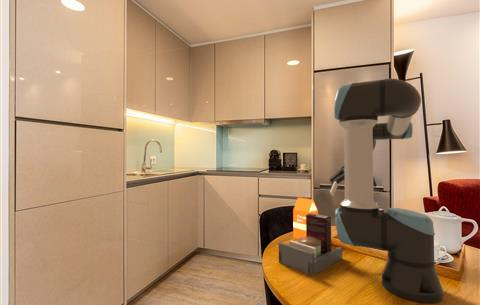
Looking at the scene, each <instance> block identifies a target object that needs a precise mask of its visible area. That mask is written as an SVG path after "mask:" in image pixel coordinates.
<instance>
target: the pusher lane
mask: <svg viewBox="0 0 480 305" xmlns="http://www.w3.org/2000/svg"><path fill="white" fill-rule="evenodd" d="M342 259H343V247H341V246H338V247H336V248H334V249H331V251H329V252H327V253H325V254H323V255H321V256H319V257H317V258H315V259H314V253H312V252H309V251H306V250H303V249H300V248H297V247H294V246H291V245H290V244H287V243H284V242H278V263H279V264H281V265H283V266H284V265H285V266H287V267H289V268H291V269H294V270H296V271H299V272H301V273H303V274H306V275H308V276H311V277H313V276H315V275H316V274H318V273H320V272H322V271H323V270H326V269H327V268H329V267H330V266H332V265H333V264H335V263H337V262H339V261H340V260H342Z"/></svg>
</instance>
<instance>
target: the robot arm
mask: <svg viewBox="0 0 480 305" xmlns="http://www.w3.org/2000/svg"><path fill="white" fill-rule="evenodd" d="M421 103H422V98H421V94H420V93H419V91H418V89H417V88H416V87H415V86H413V85H412V84H411V83H409V82H407V81H405V80H403V79H398V78H385V79H377V80H367V81H363V82H362V81H361V82H352V83H349V84H345V85H341V86H340V87H338V89H337V91H336V93H335V98H334V111H333V112H334V113H333V114H334V119H335V120H337V121H339V123H338V124H339V125H340V126H341V128H343V131H344V134H343V135H344V137H343V138H344V146H343V147H344V165H343V166H341V167H340V169H339V170H338V171H336V173H334V174H333V175H332V176H331V177H330V178H329V182H330V183H331V185H330V190H329V194H330V196H332V197H334V196H335V193H336V190H337V188H338V187H339V185H338V184H340V183H341V182H343V181H344V199H343V200H341V202H340V203H339V207H337V208H335V210H334V215H335V216H334V217H335V218H334V220H335V221H334V222H335V229H336V235H337V237H338V240H339V241H340V242H341V243H343V244H344V245H349V246H353V247H361V248H367V249H373V250H380V251H387V259H386V262H385V265H384V267H383V270H382V273H381V285H382V286H383V288H385V289H386V290H387V291H388V292H390V293H392V294H393V295H395V296H397V297H400V298H403V299H406V300H408V301H412V302H418V303H423V304H437V303H439V302H442V301H443V299H444V290H443V286H442V283H441V281H440V278H439V276H438V273H437V271H436V268H435V236H436V234H435V227H434V221H433V220H432V218H431V217H429V216H428V215H426V214H423V213H421V212H418V211H414V210H410V209H405V208H401V207H388V208H387V209H386V211H385V212H383V211H380V206H379V204H377V203H376V201H375V200H374V187H375V188H376V187H377V186H378V185H377V181H376V178H375V177H374V150H375V149H376V144H377V141H379V140H406V139H411V138H412V137H413V123H412V122H411V120H412V118H413V116H414V115H415V114H416V113H417V112H418V111H419V109H420V107H421ZM379 117H387V122H380V123H378V120H379Z"/></svg>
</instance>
